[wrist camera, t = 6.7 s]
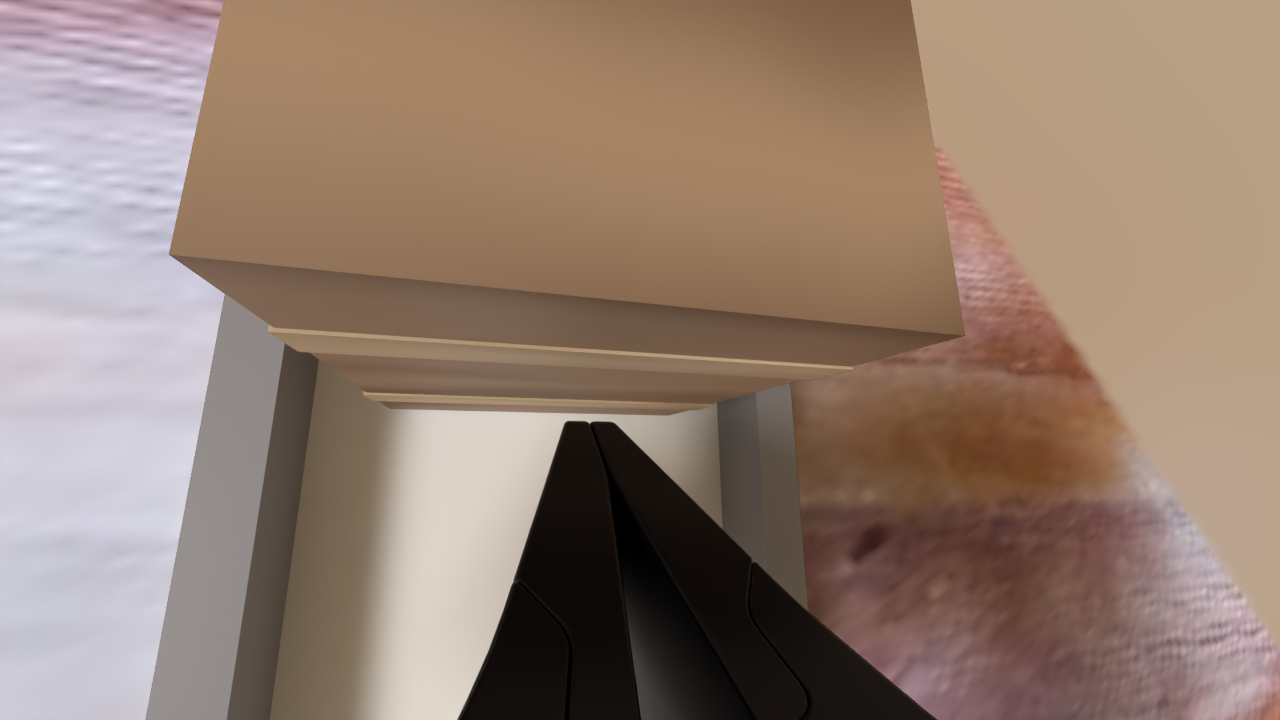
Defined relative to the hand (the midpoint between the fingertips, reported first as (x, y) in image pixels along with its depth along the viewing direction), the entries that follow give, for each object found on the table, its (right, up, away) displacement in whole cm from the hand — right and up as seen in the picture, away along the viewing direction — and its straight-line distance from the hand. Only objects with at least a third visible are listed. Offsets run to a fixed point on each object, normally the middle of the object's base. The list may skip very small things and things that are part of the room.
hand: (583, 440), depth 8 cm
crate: (-2, +3, +7) cm, 8 cm away
